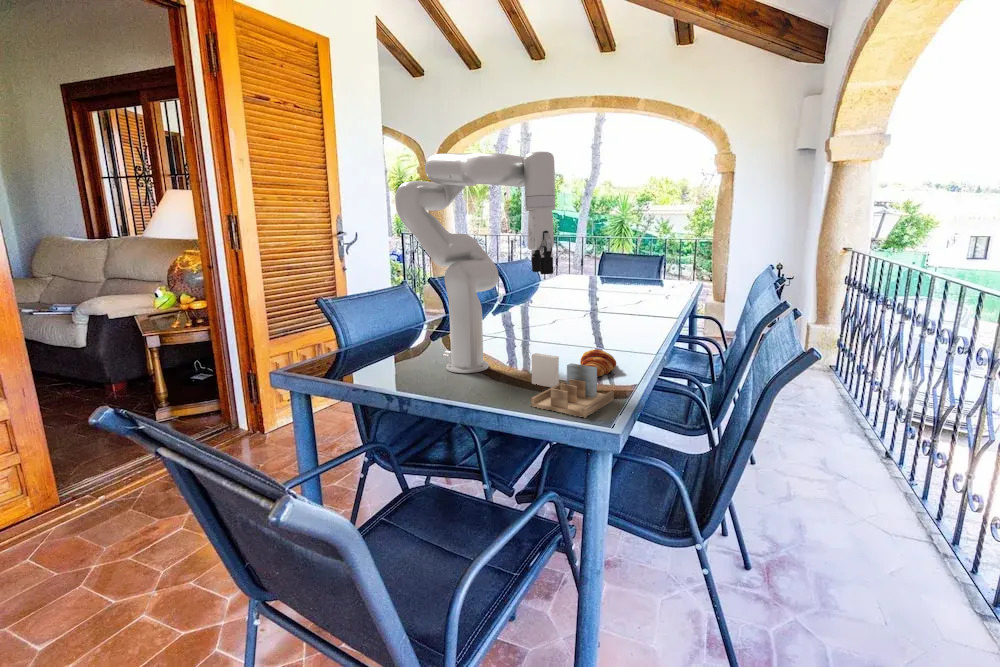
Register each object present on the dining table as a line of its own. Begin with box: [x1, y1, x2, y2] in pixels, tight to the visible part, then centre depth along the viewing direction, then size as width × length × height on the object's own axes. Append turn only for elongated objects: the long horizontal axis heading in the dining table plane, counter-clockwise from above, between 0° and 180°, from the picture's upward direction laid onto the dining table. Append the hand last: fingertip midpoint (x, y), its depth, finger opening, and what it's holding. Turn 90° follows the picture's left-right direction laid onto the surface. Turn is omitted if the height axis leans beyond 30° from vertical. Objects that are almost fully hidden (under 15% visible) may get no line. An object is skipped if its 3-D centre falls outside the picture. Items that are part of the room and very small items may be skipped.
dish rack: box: [530, 362, 615, 418], centre depth 123 cm, size 14×15×8 cm
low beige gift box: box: [531, 352, 560, 388], centre depth 137 cm, size 7×2×8 cm, turn 54°
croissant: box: [579, 349, 617, 378], centre depth 150 cm, size 21×10×8 cm, turn 156°
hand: (542, 272), depth 134 cm, fingers open, 9 cm apart
